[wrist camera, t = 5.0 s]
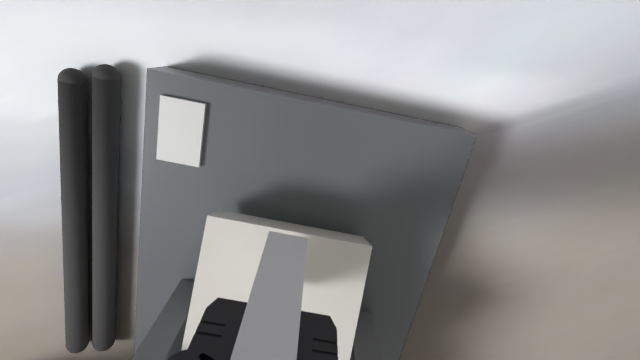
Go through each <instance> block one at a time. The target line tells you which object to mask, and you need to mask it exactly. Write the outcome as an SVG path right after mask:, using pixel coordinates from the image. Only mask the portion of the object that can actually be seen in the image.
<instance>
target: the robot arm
mask: <svg viewBox="0 0 640 360" xmlns="http://www.w3.org/2000/svg"><path fill="white" fill-rule="evenodd" d="M307 240H308V238H305V237H299V236H294V235H288V234H283V233H278V232H272V231H269V233H268V237H267V240H266V243H265V247H264V250H263V253H262V256H261V260H260V263H259V266H258V270H257V273H256V276H255V280H254V283H253V286H252V289H251V293H250V296H249V299H248V303H247V302H241V301H236V300H230V299H224V298H217V299H216V300H215V301H213V302H212V303H211V304H210V305H209V306H207V307H206V309H205V312H204V314H203V316H202V318H201V321H200V323H199V325H198V327H197V329H196V332H195V334H194V336H193V338H192V340H191V342H190V345H189V347H188V349H186V350H183V351H179V352H177V353H176V354H174V355H173V356H171V357H169V358H168V359H167V360H338V345H337V328H336V326H335V324H334V322H333V321H332V319H331V317H330V316H328V315H322V314H317V313H311V312H305V311H301V306H302V295H303V284H304V273H305V262H306V251H307Z"/></svg>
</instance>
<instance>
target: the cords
mask: <svg viewBox="0 0 640 360" xmlns="http://www.w3.org/2000/svg"><path fill="white" fill-rule="evenodd" d="M120 98H121V76H120V73H119V72H118V70H117V69H116V68H114V67H113V66H110V65H107V64H103V65H99V66H97V67H96V68H95V69H94V70H93V73H92V344H93V347H94V348H95V349H96V350H98V351H105V350H108V349H109V348H110V347H111V346H112V345H113V344H114V341H115V310H116V267H117V225H118V183H119V140H120ZM58 107H59V139H60V172H61V204H62V236H63V269H64V301H65V333H66V348H67V350H68V351H69V352H71V353H79V352H81V351H83V350H84V349H85V348H86V347H87V346H88V343H89V255H88V82H87V78H86V76H85V75H84V74H83V73H82V72H81V71H79V70H77V69H74V68H67V69H64V70H62V71H61V72H60V74H59V75H58Z"/></svg>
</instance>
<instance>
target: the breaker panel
mask: <svg viewBox="0 0 640 360" xmlns="http://www.w3.org/2000/svg"><path fill="white" fill-rule="evenodd" d="M476 137H477V136H475V135H474V134H472V133H470V132H468V131H467V130H465V129H463V128H462V127H457V126H452V125H447V124H442V123H437V122H433V121H428V120H423V119H418V118H413V117H408V116H403V115H399V114H394V113H389V112H384V111H379V110H374V109H370V108H365V107H360V106H355V105H350V104H345V103H341V102H336V101H331V100H326V99H321V98H316V97H312V96H307V95H302V94H297V93H292V92H287V91H283V90H278V89H273V88H268V87H263V86H258V85H254V84H249V83H244V82H239V81H234V80H229V79H224V78H220V77H215V76H210V75H205V74H200V73H195V72H191V71H186V70H181V69H176V68H171V67H166V66H164V67H155V68H147V83H146V105H145V126H144V148H143V170H142V192H141V214H140V236H139V257H138V279H137V301H136V323H135V345H134V356H133V357H132V359H131V360H167V359H168V358H169V357H171V356H173V355H174V354H176V353H177V352H179V351H181V349H182V344H183V338H184V333H185V328H186V323H187V318H188V312H189V307H190V302H191V297H192V292H193V286H194V281H195V276H196V271H197V266H198V261H199V255H200V250H201V245H202V240H203V235H204V229H205V224H206V219H207V215H209V214H212V213H214V212H216V211H218V210H224V211H229V212H235V213H240V214H245V215H251V216H256V217H261V218H267V219H272V220H277V221H282V222H288V223H293V224H298V225H304V226H309V227H314V228H320V229H325V230H330V231H336V232H341V233H346V234H351V235H357V236H362V237H364V238H365V239H366V240H367V241H368V242H369V243H370V244H371V246H372V251H371V256H370V261H369V266H368V271H367V276H366V281H365V286H364V291H363V297H362V302H361V307H360V312H359V317H358V322H357V327H356V332H355V337H354V342H353V347H352V352H351V357H350V360H399V358H400V355H401V352H402V350H403V347H404V344H405V341H406V338H407V335H408V332H409V329H410V327H411V324H412V321H413V318H414V315H415V312H416V309H417V306H418V304H419V301H420V298H421V295H422V292H423V289H424V286H425V283H426V280H427V278H428V275H429V272H430V269H431V266H432V263H433V260H434V257H435V255H436V252H437V249H438V246H439V243H440V240H441V237H442V234H443V232H444V229H445V226H446V223H447V220H448V217H449V214H450V211H451V209H452V206H453V203H454V200H455V197H456V194H457V191H458V188H459V186H460V183H461V180H462V177H463V174H464V171H465V168H466V165H467V162H468V160H469V157H470V154H471V151H472V148H473V145H474V142H475V139H476Z"/></svg>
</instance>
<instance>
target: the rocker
mask: <svg viewBox="0 0 640 360" xmlns="http://www.w3.org/2000/svg"><path fill="white" fill-rule="evenodd" d="M269 231H272V232H278V233H283V234H288V235H294V236H299V237H305V238H308V240H307V251H306V262H305V273H304V284H303V295H302V306H301V311H305V312H311V313H317V314H322V315H328V316H330V317H331V319H332V321H333V322H334V324H335V326H336V328H337V345H338V360H350V357H351V352H352V347H353V342H354V337H355V332H356V327H357V322H358V317H359V312H360V307H361V302H362V297H363V291H364V286H365V281H366V276H367V271H368V266H369V261H370V256H371V251H372V246H371V244H370V243H369V242H368V241H367V240H366V239H365V238H364V237H362V236H357V235H351V234H346V233H341V232H336V231H330V230H325V229H320V228H314V227H309V226H304V225H298V224H293V223H288V222H282V221H277V220H272V219H267V218H261V217H256V216H251V215H245V214H240V213H235V212H229V211H224V210H218V211H216V212H214V213H212V214H209V215H207V219H206V224H205V229H204V235H203V240H202V245H201V250H200V255H199V261H198V266H197V271H196V276H195V281H194V286H193V292H192V297H191V302H190V307H189V312H188V318H187V323H186V328H185V333H184V338H183V344H182V349H181V351H183V350H186V349H188V347H189V345H190V342H191V340H192V338H193V336H194V334H195V332H196V329H197V327H198V325H199V323H200V321H201V318H202V316H203V314H204V312H205V309H206V307H207V306H209V305H210V304H211V303H212V302H213V301H215V300H216V299H217V298H224V299H230V300H236V301H241V302H247V303H248V299H249V296H250V293H251V289H252V286H253V283H254V280H255V276H256V273H257V270H258V266H259V263H260V260H261V256H262V253H263V250H264V247H265V243H266V240H267V237H268V233H269Z"/></svg>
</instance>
